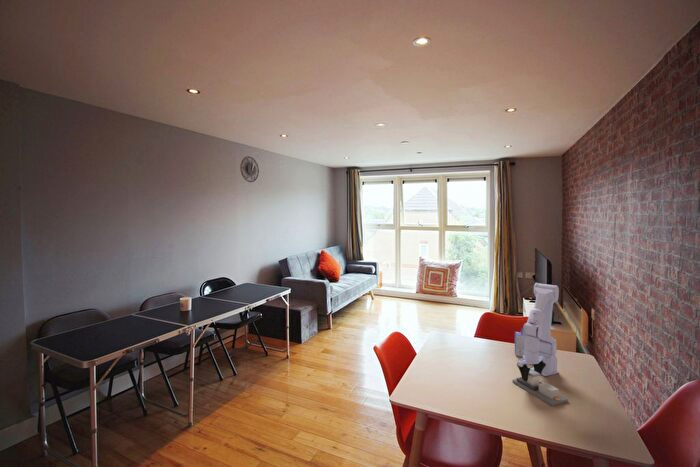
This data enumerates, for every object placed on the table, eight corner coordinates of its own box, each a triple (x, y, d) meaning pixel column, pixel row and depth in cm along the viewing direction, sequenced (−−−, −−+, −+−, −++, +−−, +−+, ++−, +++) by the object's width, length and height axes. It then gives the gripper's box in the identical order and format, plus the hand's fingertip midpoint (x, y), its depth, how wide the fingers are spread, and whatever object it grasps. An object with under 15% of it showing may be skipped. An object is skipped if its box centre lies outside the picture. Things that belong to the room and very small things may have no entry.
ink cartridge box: (533, 354, 176) (534, 328, 175) (535, 358, 171) (536, 332, 170) (513, 351, 179) (514, 327, 179) (515, 356, 174) (516, 330, 173)
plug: (528, 379, 147) (528, 367, 147) (539, 386, 141) (540, 373, 141) (521, 381, 146) (521, 368, 145) (533, 388, 140) (533, 375, 140)
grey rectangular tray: (526, 378, 150) (526, 369, 150) (568, 401, 132) (568, 391, 131) (512, 382, 147) (512, 372, 147) (552, 406, 129) (553, 395, 128)
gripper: (535, 344, 148) (534, 371, 149) (512, 348, 144) (511, 377, 144) (549, 349, 142) (548, 379, 143) (525, 355, 137) (524, 385, 138)
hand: (531, 378), depth 143 cm, fingers open, 7 cm apart
